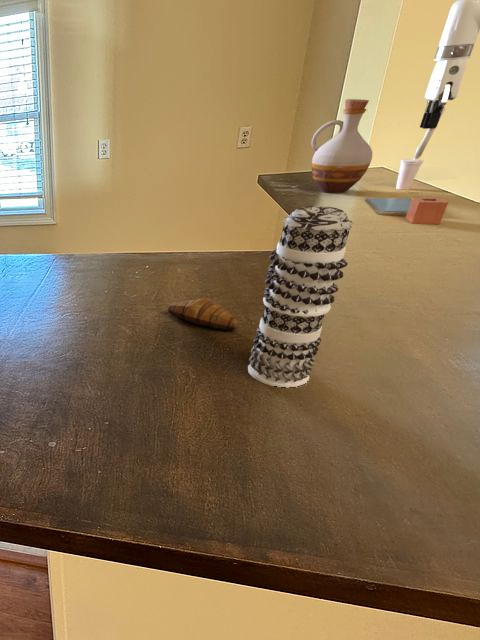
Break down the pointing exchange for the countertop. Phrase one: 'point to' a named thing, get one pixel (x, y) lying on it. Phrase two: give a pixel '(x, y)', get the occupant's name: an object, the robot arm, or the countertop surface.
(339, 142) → the jug
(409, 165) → the smoothie
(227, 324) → the croissant
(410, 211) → the pen stand
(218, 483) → the countertop surface
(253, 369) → the decorative candle
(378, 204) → the tablet
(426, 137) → the stylus
